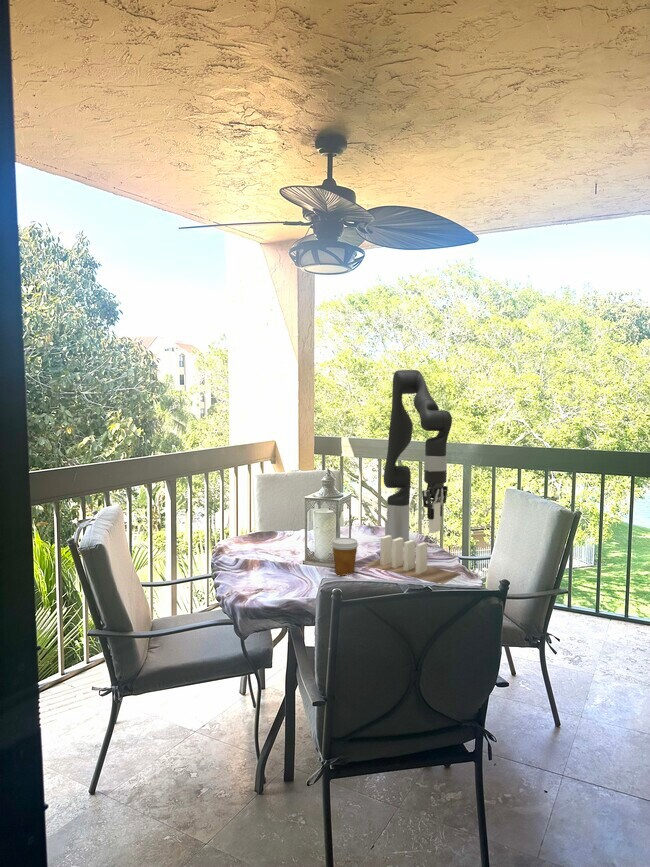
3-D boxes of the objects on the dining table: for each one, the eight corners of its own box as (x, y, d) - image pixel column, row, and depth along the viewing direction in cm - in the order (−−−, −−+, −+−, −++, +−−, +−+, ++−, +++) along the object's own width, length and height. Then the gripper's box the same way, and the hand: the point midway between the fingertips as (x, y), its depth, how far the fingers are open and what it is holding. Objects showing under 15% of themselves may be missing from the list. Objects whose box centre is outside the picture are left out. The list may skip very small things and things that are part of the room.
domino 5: (428, 532, 195) (429, 503, 194) (436, 529, 199) (436, 501, 198) (433, 533, 194) (433, 504, 193) (440, 530, 198) (440, 502, 197)
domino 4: (415, 573, 199) (415, 545, 199) (422, 569, 203) (423, 542, 202) (419, 573, 198) (419, 545, 198) (426, 570, 202) (427, 542, 201)
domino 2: (391, 567, 206) (391, 540, 205) (399, 564, 210) (399, 537, 209) (395, 568, 205) (395, 540, 204) (402, 564, 209) (403, 538, 208)
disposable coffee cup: (362, 571, 204) (362, 538, 203) (352, 579, 195) (352, 545, 194) (337, 568, 208) (337, 536, 207) (326, 576, 199) (326, 542, 198)
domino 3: (403, 570, 203) (403, 542, 202) (410, 566, 206) (411, 539, 206) (407, 571, 202) (407, 543, 201) (414, 567, 205) (415, 540, 205)
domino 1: (380, 564, 209) (380, 537, 208) (387, 561, 213) (388, 535, 212) (383, 565, 208) (384, 538, 207) (391, 562, 212) (391, 535, 211)
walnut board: (363, 567, 208) (363, 565, 208) (385, 559, 219) (385, 556, 219) (441, 587, 188) (441, 584, 188) (461, 576, 198) (461, 573, 198)
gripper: (436, 465, 203) (435, 512, 204) (414, 469, 192) (414, 519, 193) (455, 467, 198) (454, 515, 199) (434, 472, 187) (433, 523, 188)
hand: (434, 517), depth 196 cm, fingers closed on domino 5, 5 cm apart
